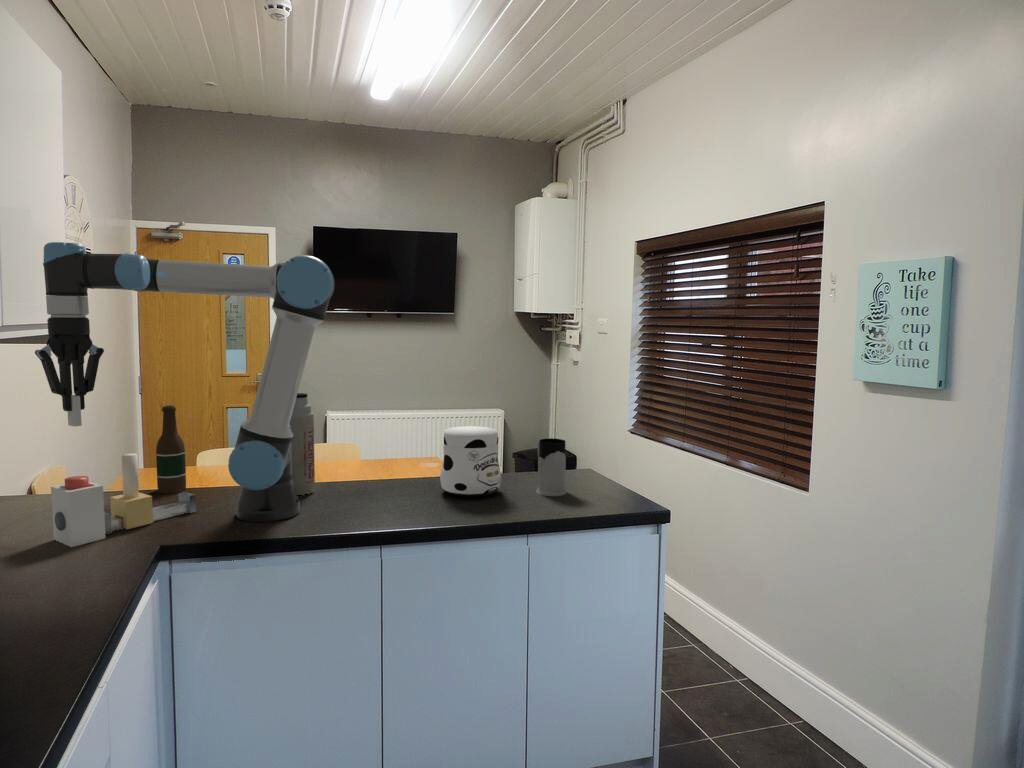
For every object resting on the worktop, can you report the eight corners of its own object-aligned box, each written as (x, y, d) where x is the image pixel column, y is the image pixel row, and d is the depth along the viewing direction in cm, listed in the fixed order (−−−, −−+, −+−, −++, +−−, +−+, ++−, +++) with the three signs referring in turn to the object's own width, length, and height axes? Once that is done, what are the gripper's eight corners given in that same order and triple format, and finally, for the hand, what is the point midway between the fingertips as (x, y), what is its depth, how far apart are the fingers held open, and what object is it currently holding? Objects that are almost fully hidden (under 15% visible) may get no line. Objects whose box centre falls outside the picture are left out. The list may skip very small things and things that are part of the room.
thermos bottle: (320, 491, 193) (319, 393, 190) (298, 497, 186) (296, 396, 184) (301, 487, 197) (300, 391, 194) (279, 492, 191) (277, 393, 188)
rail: (196, 512, 172) (195, 494, 171) (104, 535, 153) (103, 515, 153) (184, 508, 174) (184, 491, 174) (93, 530, 156) (92, 511, 156)
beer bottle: (163, 486, 195) (160, 404, 193) (191, 486, 196) (188, 404, 193) (151, 494, 187) (148, 408, 185) (180, 494, 188) (177, 408, 186)
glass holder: (543, 497, 190) (544, 444, 189) (524, 485, 203) (525, 435, 202) (571, 494, 193) (572, 442, 192) (551, 482, 207) (552, 434, 205)
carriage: (153, 522, 162) (150, 454, 160) (127, 529, 157) (124, 459, 155) (137, 517, 165) (134, 450, 164) (111, 523, 160) (108, 455, 159)
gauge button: (93, 495, 150) (92, 477, 150) (71, 499, 146) (70, 481, 146) (83, 492, 152) (82, 474, 152) (61, 496, 149) (60, 478, 148)
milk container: (499, 501, 185) (500, 436, 183) (436, 500, 185) (436, 435, 184) (501, 485, 202) (502, 426, 201) (443, 484, 203) (443, 425, 201)
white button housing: (105, 538, 151) (103, 485, 150) (69, 547, 145) (66, 492, 144) (87, 531, 156) (85, 480, 154) (51, 540, 149) (48, 486, 148)
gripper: (92, 316, 153) (98, 420, 155) (25, 316, 142) (33, 427, 144) (109, 316, 149) (114, 423, 151) (42, 316, 138) (49, 431, 140)
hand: (75, 425), depth 148 cm, fingers closed
